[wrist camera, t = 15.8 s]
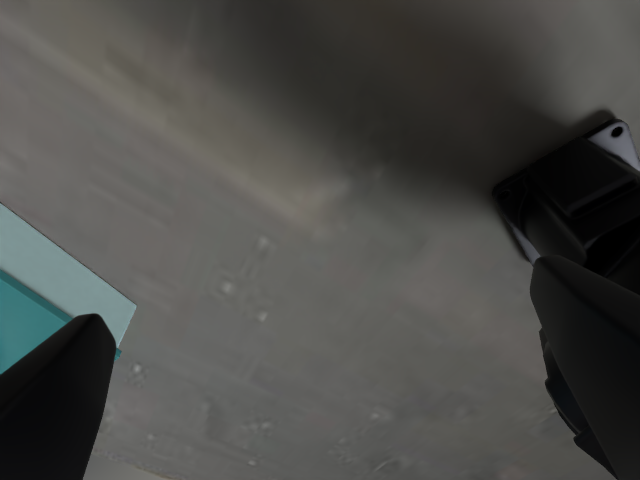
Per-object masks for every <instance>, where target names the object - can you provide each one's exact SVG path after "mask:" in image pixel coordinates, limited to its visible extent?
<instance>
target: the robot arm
mask: <svg viewBox="0 0 640 480" xmlns="http://www.w3.org/2000/svg"><path fill="white" fill-rule="evenodd" d="M616 127H618V129H617V131H616V132H615V133H613V134H611V132H612V131H613V129H615V128H616ZM503 191H507V192H506V194H504V195H502V196H500V194H501V193H502V192H503ZM492 196H493V198H494V200H495V201H496V203H497V205H498V207H499V208H500V210H501V212H502V214H503V215H504V217H505V219H506V221H507V222H508V224H509V226H510V228H511V229H512V231H513V233H514V235H515V236H516V238H517V240H518V242H519V243H520V245H521V247H522V249H523V250H524V252H525V254H526V256H527V258H528V259H529V261H530V263H531V265H532V266H533V273H532V279H531V285H530V296H531V300H532V302H533V305H534V308H535V310H536V313H537V315H538V318H539V320H540V323H541V325H542V329H541V330H540V331H539V335H540V340H541V345H542V350H543V357H544V361H545V365H546V370H547V375H548V378H547V379H546V380H545V386H546V389H547V392H548V393H549V395H550V397H551V398H552V400H553V402H554V405H555V407H556V409H557V410H558V413H559V415H560V416H561V418H562V419H563V420H564V421H565V423H566V424H567V426H568V427H569V428H570V429H571V430H572V431H573V432H574V433H575V435H576V436H575V437H574V442H575V443H576V445H577V446H578V447H580V448H581V449H582V450H583V451H585V452H586V453H587V454H588V455H590V456H591V457H592V458H594V459H595V460H596V461H597V462H599V463H600V464H601V465H603V466H604V467H605V468H606V469H607V470H608V471H609V472H610V473H611V474H612V475H613V476H614V477H615V478H616V479H617V480H640V160H639V157H638V154H637V151H636V148H635V145H634V142H633V139H632V136H631V133H630V130H629V127H628V125H627V123H625V122H624V121H622V120H620V119H612V120H610V121H608V122H606V123H604V124H602V125H601V126H599V127H597V128H595V129H594V130H592V131H590V132H588V133H587V134H585V135H583V136H581V137H578V138H576V139H575V140H573V141H571V142H569V143H568V144H566V145H564V146H562V147H561V148H559V149H557V150H555V151H554V152H552V153H550V154H548V155H547V156H545V157H543V158H541V159H540V160H538V161H536V162H534V163H533V164H531V165H530V166H529V167H527V168H526V169H524V170H522V171H520V172H519V173H517V174H515V175H513V176H512V177H510V178H508V179H506V180H505V181H503V182H501V183H499V184H498V185H496V186H495V187H494V189H493V191H492ZM115 354H116V341H115V338H114V337H113V335H112V333H111V332H110V330H109V328H108V326H107V325H106V323H105V321H104V320H103V318H102V317H101V316H100V315H99V314H97V313H91V314H83V315H78V316H76V317H75V318H73V319H72V320H71V321H69V322H68V323H67V324H65V325H64V326H63V327H62V328H60V329H59V330H58V331H56V332H55V333H54V334H52V335H51V336H50V337H49V338H47V339H46V340H45V341H43V342H42V343H41V344H39V345H38V346H37V347H36V348H34V349H33V350H32V351H30V352H29V353H28V354H26V355H25V356H24V357H22V358H21V359H20V360H19V361H17V362H16V363H15V364H13V365H12V366H11V367H9V368H8V369H7V370H6V371H4V372H3V373H2V374H0V480H83V477H84V474H85V470H86V467H87V464H88V461H89V458H90V455H91V452H92V449H93V445H94V442H95V439H96V436H97V433H98V430H99V426H100V423H101V419H102V416H103V412H104V407H105V403H106V398H107V393H108V388H109V383H110V378H111V374H112V369H113V364H114V359H115Z"/></svg>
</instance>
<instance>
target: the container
mask: <svg viewBox="0 0 640 480" xmlns="http://www.w3.org/2000/svg"><path fill="white" fill-rule="evenodd" d="M136 307H137V305H136V304H134V303H133V302H132V301H130V300H129V299H128V298H126V297H125V296H124V295H122V294H121V293H120V292H118V291H117V290H116V289H114V288H113V287H112V286H110V285H109V284H108V283H106V282H105V281H104V280H102V279H101V278H100V277H98V276H97V275H96V274H94V273H93V272H92V271H90V270H89V269H88V268H86V267H85V266H84V265H82V264H81V263H80V262H78V261H77V260H76V259H74V258H73V257H72V256H70V255H69V254H68V253H66V252H65V251H64V250H62V249H61V248H60V247H58V246H57V245H56V244H54V243H53V242H52V241H50V240H49V239H48V238H46V237H45V236H44V235H42V234H41V233H40V232H38V231H37V230H36V229H34V228H33V227H32V226H30V225H29V224H28V223H26V222H25V221H24V220H22V219H21V218H20V217H18V216H17V215H16V214H14V213H13V212H12V211H11V210H9V209H8V208H7V207H5V206H4V205H3V204H1V203H0V374H2V373H3V372H4V371H6V370H7V369H8V368H9V367H11V366H12V365H13V364H15V363H16V362H17V361H19V360H20V359H21V358H22V357H24V356H25V355H26V354H28V353H29V352H30V351H32V350H33V349H34V348H36V347H37V346H38V345H39V344H41V343H42V342H43V341H45V340H46V339H47V338H49V337H50V336H51V335H52V334H54V333H55V332H56V331H58V330H59V329H60V328H62V327H63V326H64V325H65V324H67V323H68V322H69V321H71V320H72V319H73V318H75V317H76V316H78V315H83V314H91V313H97V314H99V315H100V316H101V317H102V318H103V320H104V321H105V323H106V325H107V326H108V328H109V330H110V332H111V333H112V335H113V337H114V338H115V341H116V354H115V359H114V361H115V360H117V359H118V358H119V356H120V354H121V352H122V351H121V350H119V349H118V346H119V344H120V342H121V340H122V337H123V335H124V333H125V331H126V329H127V327H128V324H129V322H130V320H131V318H132V316H133V314H134V311H135V309H136Z"/></svg>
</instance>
